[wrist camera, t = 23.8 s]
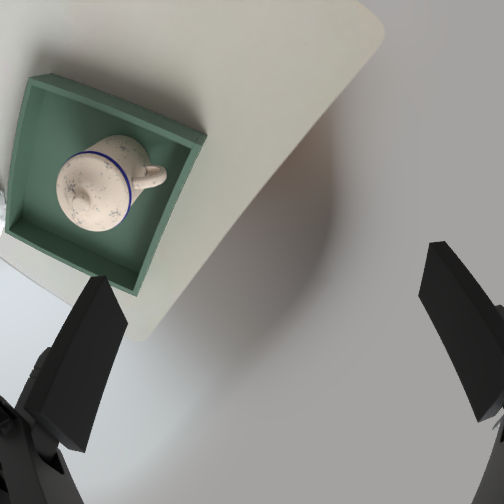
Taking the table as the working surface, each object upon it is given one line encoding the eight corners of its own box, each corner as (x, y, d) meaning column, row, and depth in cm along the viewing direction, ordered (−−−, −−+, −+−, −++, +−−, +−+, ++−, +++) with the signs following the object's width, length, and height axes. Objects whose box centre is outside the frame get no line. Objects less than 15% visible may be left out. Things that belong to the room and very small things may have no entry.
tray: (207, 135, 37) (201, 145, 33) (145, 276, 48) (136, 297, 44) (50, 73, 31) (28, 77, 27) (21, 216, 42) (4, 232, 38)
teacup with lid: (96, 201, 40) (56, 246, 30) (84, 137, 35) (33, 167, 26) (180, 195, 40) (156, 243, 30) (172, 125, 35) (141, 151, 25)
